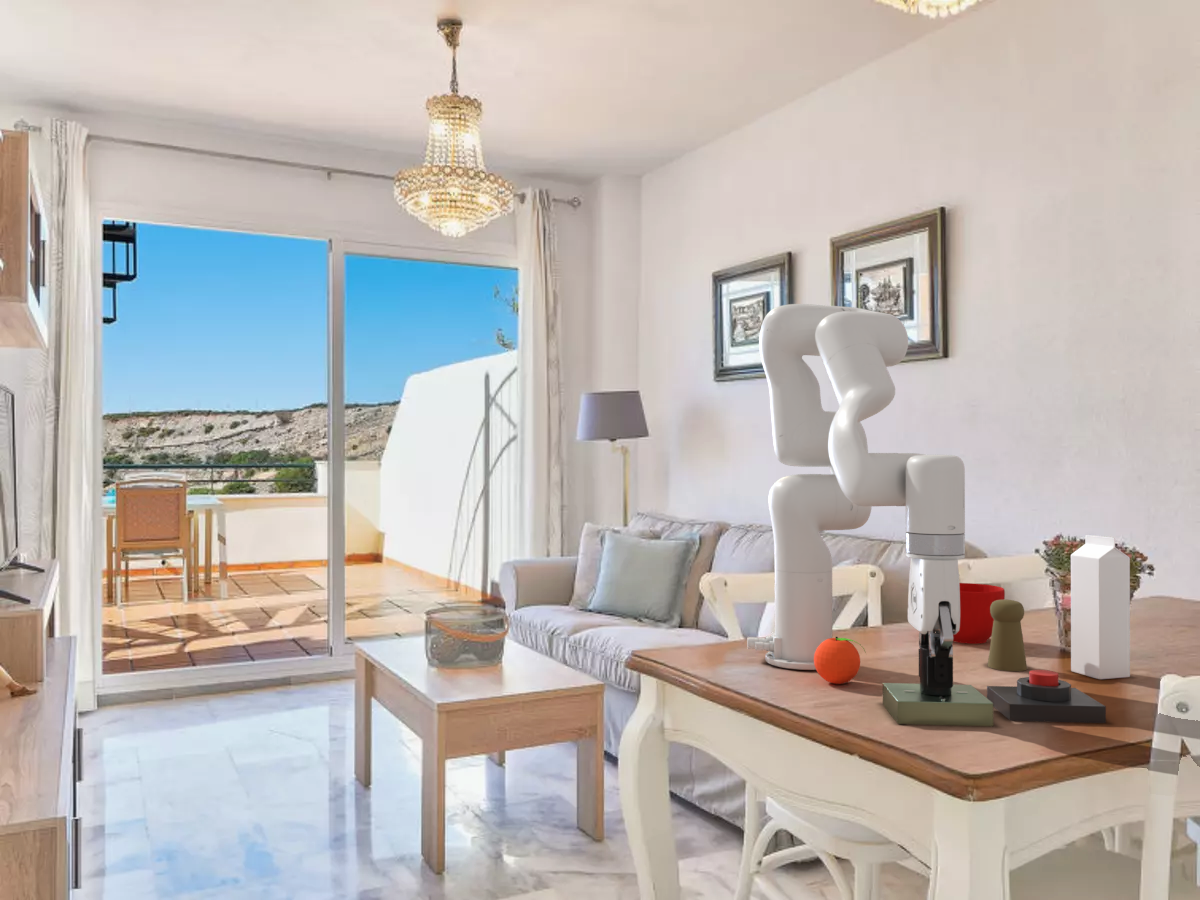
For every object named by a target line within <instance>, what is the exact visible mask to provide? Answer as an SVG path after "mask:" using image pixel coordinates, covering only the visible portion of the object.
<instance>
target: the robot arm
mask: <svg viewBox="0 0 1200 900" xmlns="http://www.w3.org/2000/svg"><path fill="white" fill-rule="evenodd" d="M758 348H759V355H760V362H761V365H762V368H763V370H764V374H765V377H766V382H767V386H768V391H769V405H770V418H771V420H770V421H771V431H772V442H773V450H774V455H775V457H776V458H777V461H779V463H780V464H783V465H785V466H788V467H801V468H802V467H804V468H805V467H806V468H809V467H810V468H813V467H814V468H816V467H817V468H819V467H821V468H822V467H823V468H825V467H826V468H827V467H828V468H829V471H830V474H829V473H827V474H825V473H824V474H823V473H799V474H789V475H785V476H783V477H780V478H779V479H778V480H776V481H775V482H774V483H773V484H772V485H771V487H770V489H769V492H768V497H767V501H768V502H767V503H768V504H767V505H768V511H769V512H768V513H769V517H770V522H771V527H772V528H771V529H772V537H773V553H774V557H773V562H774V565H773V566H774V631H772V632H771V635H766V636H765V637H764V638H763V637H747V638H746V639H747V640H746V645H747V646H746V648H747V650H755V651H766V653H765V662H766V663H767V664H768V665H772V666H773V667H777V668H783V669H788V670H798V671H799V670H800V671H817V670H816V668H815V665H814V654H815V651H816V649H817V647H818V646H819V645H820V644H821V643H822V642H823V641H825V640H826V639H829V638H833V557H832V554H831V553H832V552H831V551H830V548H829V547H828V545H827V543H826V542H825V539H824V538H823V537H822V535H821V533H820V532H823V531H824V532H825V531H851V530H856V529H859V528H861V527H863V526H864V525H865V524H866V523H867V522H868V520H869V518H870V516H871V512H872V508H873V507H905V557H906V558H908V559H909V558H910V563H909V572H908V573H909V575H908V593H907V595H908V596H907V622H908V624H909V625H911V626H912V627H913V628H914V629H915V630H916V631H918V632H919V633H918V647H919V648H918V677H919V678H920V646H922V645H929V654H930V656H927V685H928V686H929V687H931V688H952V687H953V684H954V657H953V656H954V650H953V649H954V647H953V643H954V641H953V635H955V634H956V633H957V632H959V628H960V586H959V583H960V573H959V572H960V571H959V560H964V559H966V534H965V533H966V474H965V473H966V471H965V464H964V460H963V459H962V458H961V457H959V456H957V455H953V454H924V453H916V452H915V453H914V452H913V453H910V452H909V453H908V452H907V453H903V452H901V453H899V452H869V447H868V440H867V433H866V431H865V428H864V426H863V424H862V423H861V422H862V421H865V420H867V419H868V418H870V417H873V416H875V415H877V414H879V413H881V412H882V411H883V410H884V409H886V408H887V407H888V406H889V405H890V404H891V403H892V402H893V401H894V398H895V396H896V387H895V383H894V381H893V379H892V377H891V374H890V372H889V370H888V368H889V367H893V366H894V367H895V366H897V365H898V364H900V363H901V362H902V361H903V360H904V358H905V357H906V355H907V353H908V349H909V336H908V332H907V329H906V327H905V325H904V324H903V322H902V321H901V320H900V319H899V318H898V317H897V316H896V315H893V314H892V313H886V312H882V311H881V312H880V311H876V310H870V309H866V308H860V307H854V306H841V305H840V306H839V305H826V304H825V305H823V304H809V303H789V304H783V305H779V306H776V307H774V308H773V309H771V310H770V311H768V312H767V313H766V315H765V316H764V318H763V320H762V323H761V326H760V331H759V337H758ZM803 356H812V357H813V356H814V357H820V359H821V361H822V364H823V366H824V370H825V371H826V374H827V377H828V379H829V382H830V384H831V387H832V390H833V393H834V395H835V398H836V400H837V403H838V406H839V407H838V408H837V411H831V410H830V411H827V410H826V411H825V410H824V408H823V406H822V399H821V386H820V383H819V380H818V378H817V377H816V374H815V373H814V371H813V370H812V368H811V367H810V366H809V364H808V363H807V362H806V361H805V360H804V359H803Z"/></svg>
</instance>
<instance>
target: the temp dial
mask: <svg viewBox="0 0 1200 900" xmlns="http://www.w3.org/2000/svg"><path fill="white" fill-rule="evenodd" d="M919 649H920V677H919V684H920V692H922V693H924V694H928V695H934V696H946V695H950V694H951V693H952V692H951V688H931V687H929V686H928V685H927V656H930V654H929V645H922V646H920V648H919Z"/></svg>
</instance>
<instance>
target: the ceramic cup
mask: <svg viewBox="0 0 1200 900" xmlns="http://www.w3.org/2000/svg"><path fill="white" fill-rule="evenodd" d="M959 586H960V628H959V632H957V633H956V634H955V635H953V643H958V644H959V643H960V644H970V645H971V644H972V645H977V644H979V645H980V644H985V643H987V642H988V640H990V639H991V636H992V629H993V622H994V619H993V618H992V616H991V613H990V606H991V604H992V602H994V601H996V600H1003V599H1006V597H1005V595H1006V591H1005V588H1004V587H1002V586H998V585H992V584H984V583H973V582H972V583H970V582H959Z"/></svg>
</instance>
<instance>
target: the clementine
mask: <svg viewBox="0 0 1200 900" xmlns="http://www.w3.org/2000/svg"><path fill="white" fill-rule="evenodd" d="M852 642H855V643H856V644H857V645H860V643H859V642H857V641H855V640H854V639H850V638H846V637H838V636H835V637H832V638H829V639H826V640H825V641H823V642H822V643H821V644H820V645H819V646H818V647H817V649H816V651H815V654H814V665H815V668H816V670H815V671H816V672H817V674H818V675H819V676H820V677H821V678H822V679H823V680H825V681H826V682H828V683H831V684H834V685H843V684H846V683H849V682H850V681H852V680H853V679H854V678H855V677H856V676H857V675H858V672H859V670H860V668H861V655H860V654H859V653H860V652H859V651H858V649H857V648H856V646H855V645H854V644H853V643H852ZM862 649H863V651H864V652H865V654H867V653H866V650H865V648H864V647H862Z"/></svg>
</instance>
